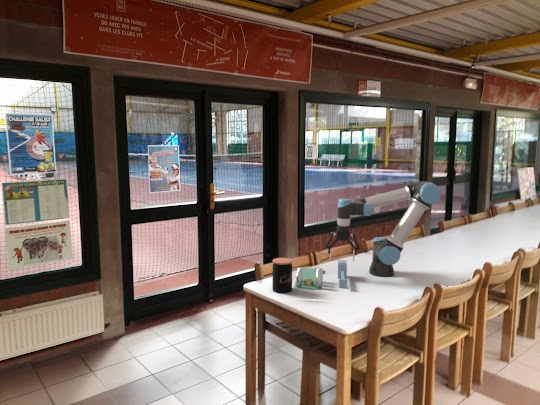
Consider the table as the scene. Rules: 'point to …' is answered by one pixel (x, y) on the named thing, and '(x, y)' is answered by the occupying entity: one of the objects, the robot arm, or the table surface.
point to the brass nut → (308, 282)
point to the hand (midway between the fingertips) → (341, 259)
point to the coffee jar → (282, 275)
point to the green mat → (309, 274)
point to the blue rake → (342, 273)
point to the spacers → (300, 277)
